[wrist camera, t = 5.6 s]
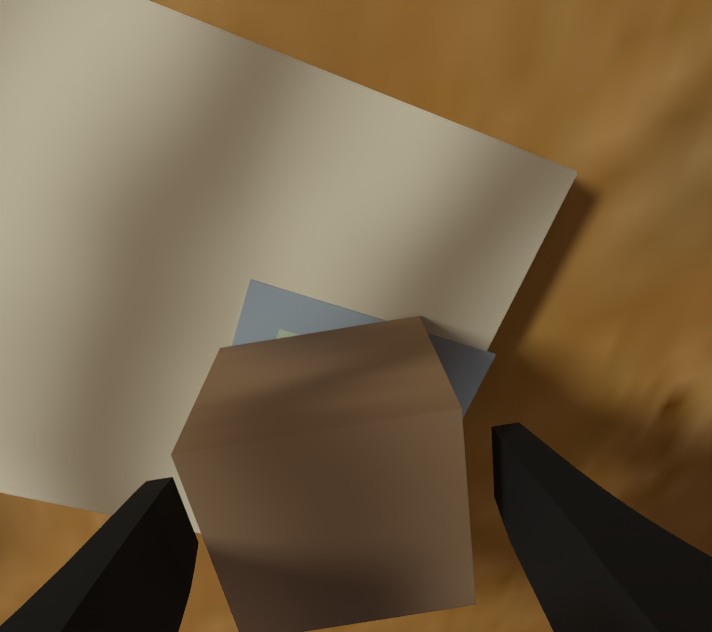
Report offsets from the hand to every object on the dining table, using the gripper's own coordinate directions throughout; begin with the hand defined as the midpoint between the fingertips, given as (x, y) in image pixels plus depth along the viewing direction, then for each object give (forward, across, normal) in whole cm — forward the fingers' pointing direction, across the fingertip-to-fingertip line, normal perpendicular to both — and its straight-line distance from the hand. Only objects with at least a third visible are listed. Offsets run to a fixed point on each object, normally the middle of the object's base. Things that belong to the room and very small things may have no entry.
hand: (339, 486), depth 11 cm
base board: (+4, +4, -4) cm, 7 cm away
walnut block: (+2, 0, 0) cm, 2 cm away
